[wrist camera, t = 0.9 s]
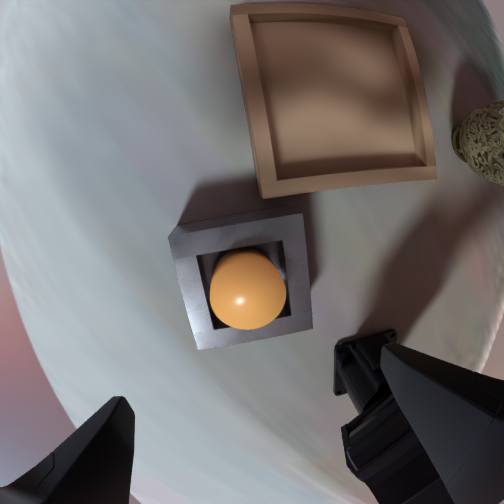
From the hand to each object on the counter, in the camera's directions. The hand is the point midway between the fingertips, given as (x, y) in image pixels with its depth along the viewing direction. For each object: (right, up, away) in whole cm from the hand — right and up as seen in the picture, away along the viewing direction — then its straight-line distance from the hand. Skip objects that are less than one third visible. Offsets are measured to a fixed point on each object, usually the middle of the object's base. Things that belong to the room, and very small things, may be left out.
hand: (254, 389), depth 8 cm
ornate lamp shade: (+20, +15, +12) cm, 27 cm away
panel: (-1, +3, +12) cm, 13 cm away
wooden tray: (+6, +16, +9) cm, 20 cm away
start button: (-1, +2, +10) cm, 11 cm away
